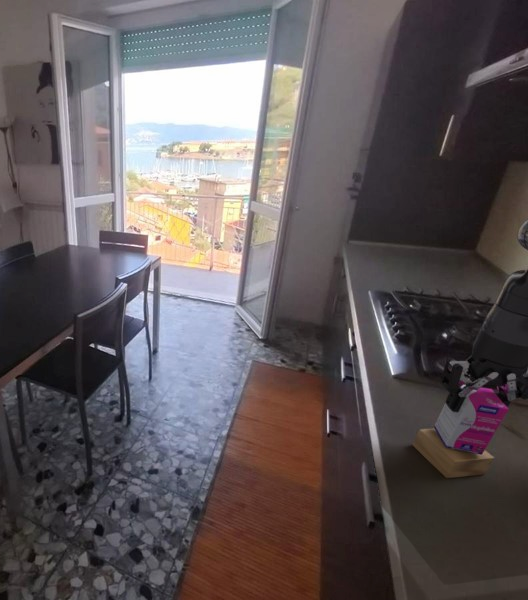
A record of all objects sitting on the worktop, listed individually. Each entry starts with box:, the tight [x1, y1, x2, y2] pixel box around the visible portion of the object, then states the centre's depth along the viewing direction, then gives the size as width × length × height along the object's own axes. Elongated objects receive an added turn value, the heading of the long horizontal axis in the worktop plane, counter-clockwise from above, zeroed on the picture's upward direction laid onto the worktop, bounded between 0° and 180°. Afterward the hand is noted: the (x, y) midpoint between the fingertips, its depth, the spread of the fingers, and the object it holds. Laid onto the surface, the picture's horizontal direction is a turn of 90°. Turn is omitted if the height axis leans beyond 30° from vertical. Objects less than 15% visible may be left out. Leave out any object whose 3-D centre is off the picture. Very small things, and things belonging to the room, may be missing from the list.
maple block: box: [412, 427, 495, 479], centre depth 70 cm, size 8×8×4 cm
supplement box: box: [433, 384, 509, 455], centre depth 67 cm, size 6×6×12 cm
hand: (472, 410), depth 66 cm, fingers closed on supplement box, 6 cm apart
